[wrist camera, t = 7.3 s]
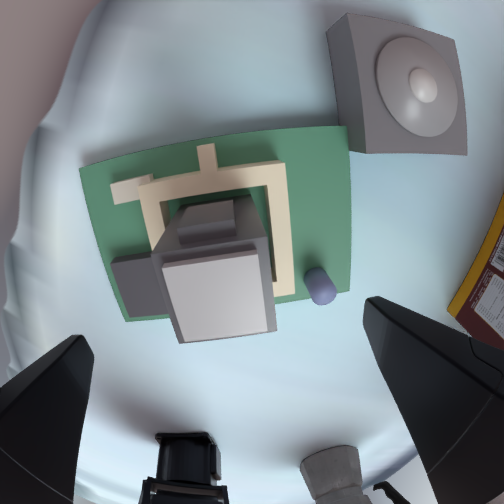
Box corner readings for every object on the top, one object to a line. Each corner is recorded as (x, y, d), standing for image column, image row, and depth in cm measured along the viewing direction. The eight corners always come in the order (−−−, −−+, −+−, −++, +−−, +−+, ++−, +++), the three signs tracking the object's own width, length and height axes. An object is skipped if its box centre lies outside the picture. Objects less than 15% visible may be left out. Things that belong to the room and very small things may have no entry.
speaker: (341, 149, 16) (370, 154, 13) (326, 31, 13) (350, 9, 9) (435, 149, 17) (472, 156, 13) (424, 47, 13) (458, 38, 10)
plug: (194, 267, 17) (177, 350, 11) (178, 194, 15) (142, 242, 9) (258, 258, 17) (278, 337, 11) (249, 183, 16) (266, 223, 9)
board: (129, 312, 20) (117, 339, 17) (87, 166, 15) (62, 173, 12) (343, 282, 20) (360, 306, 17) (339, 126, 16) (361, 125, 13)
